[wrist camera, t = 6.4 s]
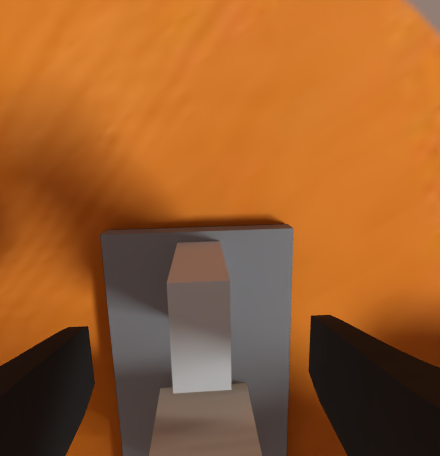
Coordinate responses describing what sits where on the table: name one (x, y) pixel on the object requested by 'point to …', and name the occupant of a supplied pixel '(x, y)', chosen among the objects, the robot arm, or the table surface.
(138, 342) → the gray plate with post
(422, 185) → the table surface
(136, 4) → the table surface
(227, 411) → the birch block
